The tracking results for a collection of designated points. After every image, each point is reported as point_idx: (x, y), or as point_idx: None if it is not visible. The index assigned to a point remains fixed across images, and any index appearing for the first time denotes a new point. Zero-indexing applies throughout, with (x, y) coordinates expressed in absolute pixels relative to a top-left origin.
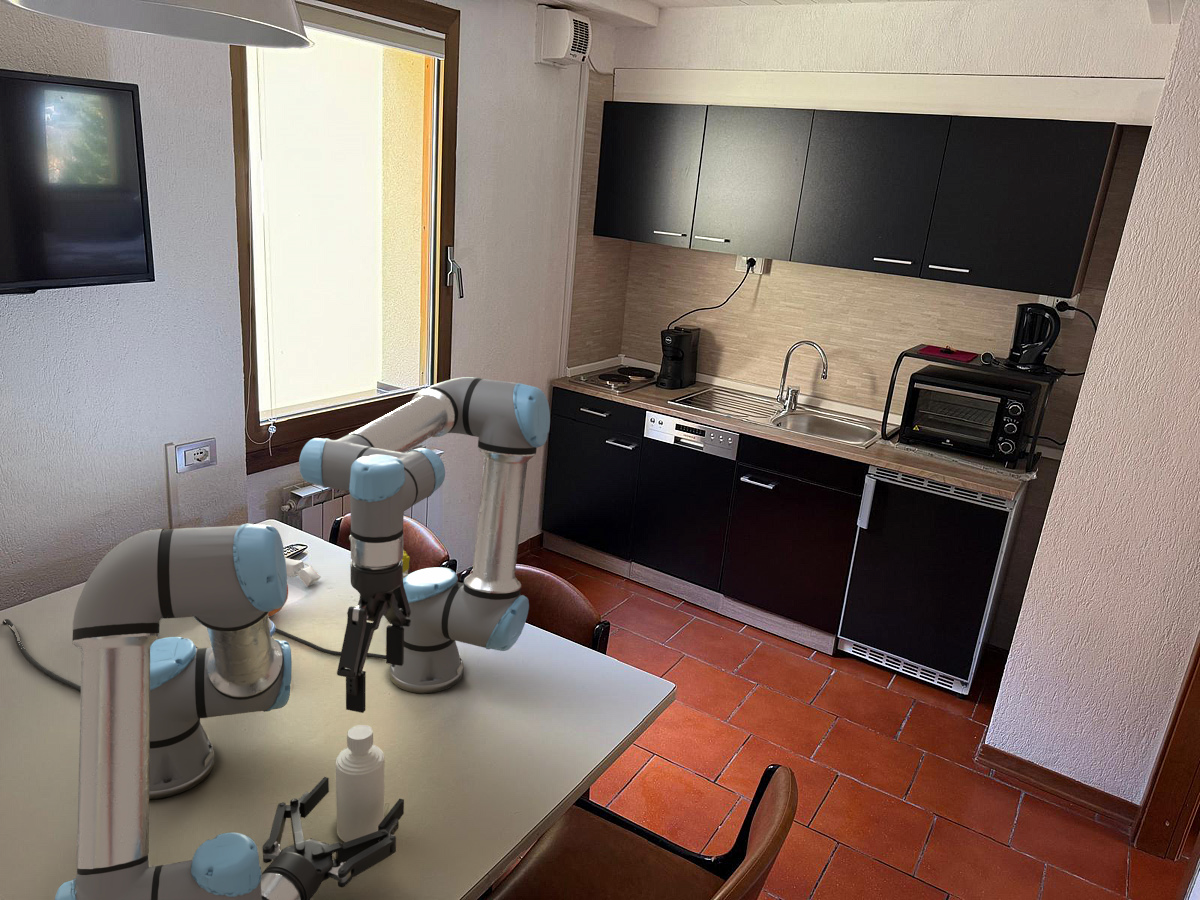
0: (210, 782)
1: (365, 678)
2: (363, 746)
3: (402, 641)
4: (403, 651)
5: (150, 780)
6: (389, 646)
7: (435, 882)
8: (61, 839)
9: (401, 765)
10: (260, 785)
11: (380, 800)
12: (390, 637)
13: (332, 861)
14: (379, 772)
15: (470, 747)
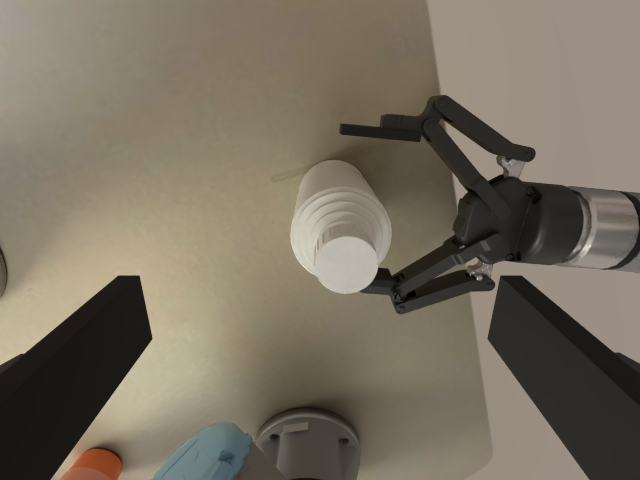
0: (311, 399)
1: (621, 389)
2: (368, 238)
3: (42, 358)
4: (79, 310)
5: (356, 456)
6: (100, 389)
7: (414, 27)
8: (427, 465)
9: (183, 195)
10: (297, 350)
11: (343, 170)
12: (59, 435)
13: (501, 181)
14: (352, 184)
15: (82, 95)
